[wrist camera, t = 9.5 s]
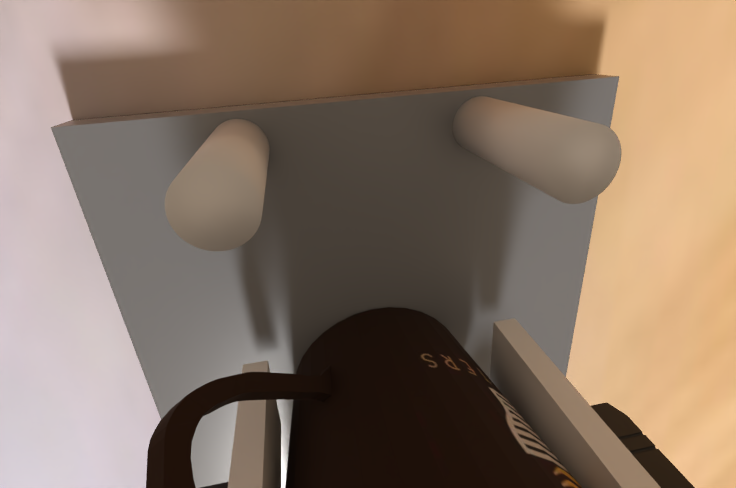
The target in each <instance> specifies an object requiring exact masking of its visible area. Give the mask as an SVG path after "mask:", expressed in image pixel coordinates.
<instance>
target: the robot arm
mask: <svg viewBox="0 0 736 488" xmlns="http://www.w3.org/2000/svg"><path fill="white" fill-rule="evenodd" d="M245 372H270V368H269V364H268V360H267V361H261V362H255V363H249V364H244V365H243V367H242V373H245ZM489 379H490V380H491V381H492V382H493V383H494V385H495V386H496V387H497V388H498V389H499V390H500V392H501V393H502V394H503V395H504V396H505V398H506V399H507V400H508V401H509V402H510V403H511V405H512V406H513V407H514V408H515V409H516V410H517V412H518V413H519V414H520V415H521V416H522V418H523V419H524V420H525V421H526V422H527V423H528V425H529V426H530V427H531V428H532V429H533V431H534V432H535V433H536V434H537V435H538V436H539V438H540V439H541V440H542V441H543V442H544V443H545V445H546V446H547V447H548V448H549V449H550V451H551V452H552V453H553V454H554V455H555V456H556V458H557V459H558V460H559V461H560V462H561V464H562V465H563V466H564V467H565V468H566V469H567V471H568V472H569V473H570V474H571V475H572V476H573V478H574V479H575V480H576V481H577V482H578V484H579V485H580V486H581V487H582V488H694V487H693V485H692V484H691V483H690V482H689V481H688V480H687V479H686V478H685V477H684V476H683V475H682V474H681V473H680V472H679V471H678V469H677V468H676V467H675V466H674V465H673V464H672V463H671V462H670V461H669V460H668V459H667V458H666V457H665V456H664V455H663V453H662V452H661V451H660V450H659V449H656V448H655V445H654V444H653V443H652V442H651V441H650V440H649V439H648V438H647V436H646V435H643V434H642V431H641V430H640V429H639V428H638V427H637V426H636V425H635V424H634V423H633V422H632V420H631V419H630V418H629V417H628V416H627V415H625V414H624V413H622V412H621V411H619V410H618V409H616V408H614V407H613V406H611V405H610V404H608V403H602V404H597V405H592V406H590V405H589V404H588V403H587V401H586V400H585V399H584V398H583V397H582V396H581V394H580V393H579V392H578V391H577V390H576V389H575V387H574V386H573V385H572V384H571V383H570V382H569V381H568V379H567V378H566V377H565V376H564V375H563V374H562V372H561V371H560V370H559V369H558V368H557V367H556V365H555V364H554V363H553V362H552V361H551V360H550V358H549V357H548V356H547V355H546V354H545V353H544V352H543V350H542V349H541V348H540V347H539V346H538V345H537V343H536V342H535V341H534V340H533V339H532V338H531V336H530V335H529V334H528V333H527V332H526V331H525V329H524V328H523V327H522V326H521V325H520V324H519V323H518V321H517V320H516V319H515V318H514V319H508V320H502V321H496V322H494V324H493V337H492V350H491V363H490V376H489ZM200 488H281V420H280V416H279V411H278V406H277V401H276V400H249V401H238V408H237V416H236V424H235V433H234V441H233V449H232V457H231V465H230V473H229V482H225V483H220V484H215V485H210V486H205V487H200Z"/></svg>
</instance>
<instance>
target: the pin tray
mask: <svg viewBox="0 0 736 488" xmlns="http://www.w3.org/2000/svg"><path fill="white" fill-rule="evenodd" d="M618 80H619V76H608V75H597V74H590V75H579V76H568V77H556V78H545V79H534V80H522V81H511V82H500V83H488V84H477V85H466V86H454V87H443V88H432V89H420V90H409V91H398V92H386V93H375V94H364V95H352V96H341V97H330V98H318V99H307V100H296V101H284V102H273V103H262V104H250V105H239V106H228V107H216V108H205V109H194V110H182V111H171V112H160V113H148V114H137V115H126V116H114V117H103V118H92V119H80V120H71V121H68V122H65V123H62V124H60V125H57V126H54V127H51V129H52V132H53V134H54V137H55V140H56V142H57V145H58V147H59V150H60V153H61V155H62V158H63V161H64V163H65V166H66V169H67V171H68V174H69V177H70V179H71V182H72V184H73V187H74V190H75V192H76V195H77V198H78V200H79V203H80V206H81V208H82V211H83V214H84V216H85V219H86V221H87V224H88V227H89V229H90V232H91V235H92V237H93V240H94V243H95V245H96V248H97V251H98V253H99V256H100V259H101V261H102V264H103V266H104V269H105V272H106V274H107V277H108V280H109V282H110V285H111V288H112V290H113V293H114V296H115V298H116V301H117V303H118V306H119V309H120V311H121V314H122V317H123V319H124V322H125V325H126V327H127V330H128V333H129V335H130V338H131V340H132V343H133V346H134V348H135V351H136V354H137V356H138V359H139V362H140V364H141V367H142V370H143V372H144V375H145V377H146V380H147V383H148V385H149V388H150V391H151V393H152V396H153V399H154V401H155V404H156V407H157V409H158V412H159V414H160V417H161V420H162V418H163V417H164V416H165V415H166V414H167V413H168V411H169V410H170V409H171V408H172V407H174V406H175V405H176V404H177V403H178V402H179V401H181V400H182V399H183V398H184V397H185V396H187V395H188V394H189V393H191V392H192V391H194V390H195V389H197V388H199V387H201V386H203V385H205V384H206V383H209V382H211V381H213V380H216V379H219V378H224V377H228V376H232V375H237V374H242V367H243V365H244V364H249V363H255V362H261V361H267V360H268V364H269V368H270V372H272V373H290V374H296V372H297V369H298V366H299V364H300V362H301V359H302V357H303V355H304V354H305V353H306V351H307V350H308V348H309V347H310V345H311V344H312V343H313V342H314V341H315V340H316V339H317V338H318V337H319V336H320V335H321V334H322V333H323V332H325V331H326V330H327V329H329V328H330V327H332V326H333V325H335V324H336V323H338V322H339V321H342V320H344V319H346V318H348V317H350V316H352V315H354V314H358V313H361V312H365V311H368V310H372V309H380V308H388V307H393V308H408V309H412V310H416V311H420V312H423V313H425V314H427V315H429V316H431V317H433V318H435V319H436V320H438V321H439V322H440V323H442V324H443V325H444V326H445V327H446V328H447V329H448V330H449V331H450V333H451V334H452V335H453V336H454V337H455V339H456V340H457V341H458V342H459V343H460V344H461V346H462V347H463V348H464V349H465V350H466V352H467V353H468V354H469V355H470V356H471V357H472V359H473V360H474V361H475V362H476V363H477V364H478V366H479V367H480V368H481V369H482V370H483V372H484V373H485V374H486V375H487V376H488V377H489V376H490V363H491V350H492V337H493V324H494V322H496V321H502V320H508V319H514V318H515V319H516V320H517V321H518V323H519V324H520V325H521V326H522V327H523V328H524V329H525V331H526V332H527V333H528V334H529V335H530V336H531V338H532V339H533V340H534V341H535V342H536V343H537V345H538V346H539V347H540V348H541V349H542V350H543V352H544V353H545V354H546V355H547V356H548V357H549V358H550V360H551V361H552V362H553V363H554V364H555V365H556V367H557V368H558V369H559V370H560V371H561V372H562V374H563V375H564V376H565V377H566V372H567V366H568V361H569V355H570V350H571V344H572V338H573V333H574V327H575V321H576V316H577V310H578V305H579V299H580V293H581V288H582V282H583V277H584V271H585V265H586V260H587V254H588V249H589V243H590V237H591V232H592V226H593V220H594V215H595V209H596V204H597V198H598V195H599V194H600V193H602V192H603V191H604V190H605V189H606V188H607V187H608V185H609V184H610V183H611V182H612V180H613V178H614V177H615V175H616V173H617V171H618V168H619V165H620V161H621V145H620V141H619V139H618V137H617V135H616V134H615V132H614V131H613V130H612V129H610V125H611V120H612V114H613V108H614V103H615V97H616V91H617V86H618ZM276 401H277V406H278V411H279V416H280V420H281V488H285V485H286V474H287V463H288V452H289V441H290V429H291V418H292V407H293V400H292V399H291V400H286V399H277V400H276ZM237 408H238V402H233V403H230V404H227V405H225V406H222V407H220V408H219V409H217V410H215V411H213V412H211V413H209V414H207V415H205V416H203V417H202V418H201V420H200V421H199V423H198V425H197V428H196V431H195V434H194V437H193V440H192V446H191V463H192V471H193V478H194V483H195V487H196V488H200V487H205V486H210V485H215V484H220V483H225V482H229V473H230V465H231V457H232V449H233V441H234V433H235V424H236V416H237Z"/></svg>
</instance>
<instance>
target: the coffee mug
mask: <svg viewBox="0 0 736 488" xmlns="http://www.w3.org/2000/svg"><path fill="white" fill-rule="evenodd" d="M277 399H286V400H291V399H292V400H293V407H292V418H291V429H290V441H289V452H288V463H287V474H286V485H285V488H582V487H581V486H580V485H579V484H578V482H577V481H576V480H575V479H574V478H573V476H572V475H571V474H570V473H569V472H568V471H567V469H566V468H565V467H564V466H563V465H562V464H561V462H560V461H559V460H558V459H557V458H556V456H555V455H554V454H553V453H552V452H551V451H550V449H549V448H548V447H547V446H546V445H545V443H544V442H543V441H542V440H541V439H540V438H539V436H538V435H537V434H536V433H535V432H534V431H533V429H532V428H531V427H530V426H529V425H528V423H527V422H526V421H525V420H524V419H523V418H522V416H521V415H520V414H519V413H518V412H517V410H516V409H515V408H514V407H513V406H512V405H511V403H510V402H509V401H508V400H507V399H506V398H505V396H504V395H503V394H502V393H501V392H500V390H499V389H498V388H497V387H496V386H495V385H494V383H493V382H492V381H491V380H490V379H489V377H488V376H487V375H486V374H485V373H484V372H483V370H482V369H481V368H480V367H479V366H478V364H477V363H476V362H475V361H474V360H473V359H472V357H471V356H470V355H469V354H468V353H467V352H466V350H465V349H464V348H463V347H462V346H461V344H460V343H459V342H458V341H457V340H456V339H455V337H454V336H453V335H452V334H451V333H450V331H449V330H448V329H447V328H446V327H445V326H444V325H443V324H442V323H440V322H439V321H438V320H436V319H435V318H433V317H431V316H429V315H427V314H425V313H423V312H420V311H416V310H412V309H408V308H393V307H388V308H380V309H372V310H368V311H365V312H361V313H358V314H354V315H352V316H350V317H348V318H346V319H344V320H342V321H339V322H338V323H336V324H335V325H333V326H332V327H330V328H329V329H327V330H326V331H325V332H323V333H322V334H321V335H320V336H319V337H318V338H317V339H316V340H315V341H314V342H313V343H312V344H311V345H310V347H309V348H308V350H307V351H306V353H305V354H304V355H303V357H302V359H301V362H300V364H299V366H298V369H297V372H296V374H290V373H272V372H245V373H242V374H237V375H232V376H228V377H224V378H219V379H216V380H213V381H211V382H209V383H206V384H205V385H203V386H201V387H199V388H197V389H195V390H194V391H192V392H191V393H189V394H188V395H187V396H185V397H184V398H183V399H182V400H181V401H179V402H178V403H177V404H176V405H175V406H174V407H172V408H171V409H170V410H169V411H168V413H167V414H166V415H165V416H164V417H163V418H162V420H161V421H160V423H159V424H158V426H157V428H156V429H155V431H154V433H153V435H152V437H151V440H150V444H149V448H148V459H147V480H146V488H196V487H195V483H194V478H193V471H192V463H191V446H192V440H193V437H194V434H195V431H196V428H197V425H198V423H199V421H200V420H201V418H202V417H203V416H205V415H207V414H209V413H211V412H213V411H215V410H217V409H219V408H220V407H222V406H225V405H227V404H230V403H233V402H238V401H249V400H277Z"/></svg>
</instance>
